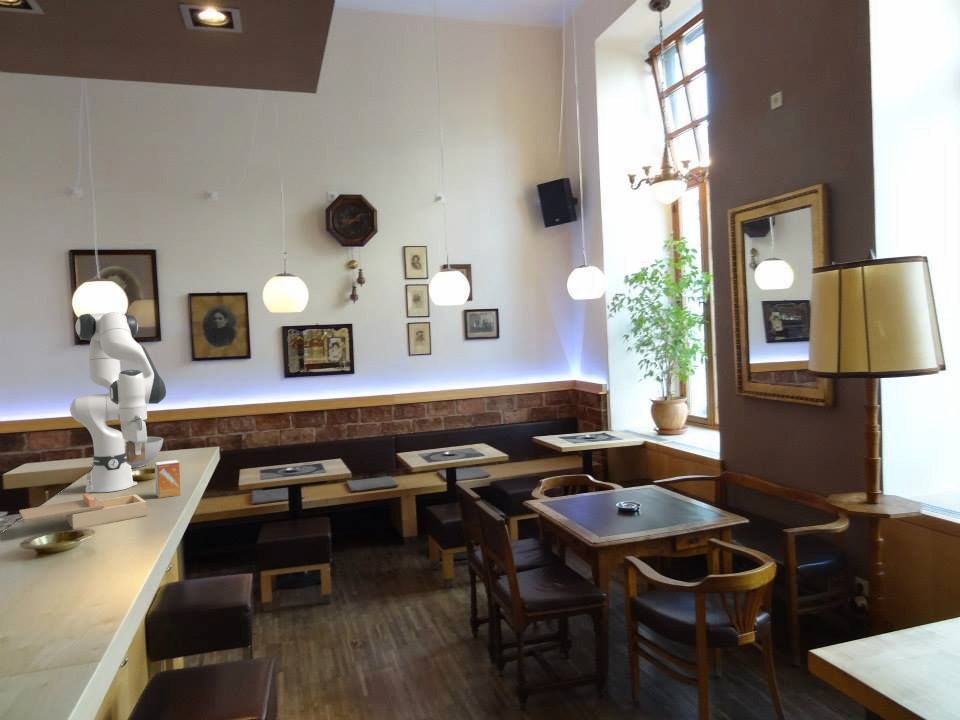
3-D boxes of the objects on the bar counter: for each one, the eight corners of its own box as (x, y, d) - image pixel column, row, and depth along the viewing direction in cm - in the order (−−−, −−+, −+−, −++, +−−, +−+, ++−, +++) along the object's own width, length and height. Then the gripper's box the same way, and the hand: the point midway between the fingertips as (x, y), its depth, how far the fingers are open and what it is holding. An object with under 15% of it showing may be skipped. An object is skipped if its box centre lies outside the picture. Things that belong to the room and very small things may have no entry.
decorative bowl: (106, 464, 331) (105, 439, 330) (166, 458, 340) (165, 434, 340) (97, 474, 306) (95, 448, 305) (162, 468, 315) (160, 443, 315)
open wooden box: (65, 520, 231) (65, 505, 231) (136, 507, 245) (135, 494, 244) (73, 529, 219) (72, 514, 219) (146, 515, 233) (146, 501, 233)
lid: (19, 512, 222) (18, 502, 222) (95, 500, 236) (94, 490, 236) (24, 521, 211) (23, 511, 211) (103, 508, 225) (103, 498, 225)
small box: (158, 498, 258) (156, 464, 257) (156, 495, 263) (154, 462, 262) (181, 495, 262) (179, 461, 261) (178, 492, 267) (176, 459, 267)
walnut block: (126, 461, 243) (125, 441, 243) (141, 459, 246) (140, 440, 246) (130, 462, 239) (129, 443, 239) (145, 460, 243) (144, 441, 242)
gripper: (150, 416, 236) (152, 455, 237) (135, 412, 252) (137, 449, 252) (130, 418, 232) (133, 458, 233) (117, 414, 248) (119, 451, 248)
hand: (135, 453), depth 243 cm, fingers closed on walnut block, 5 cm apart
